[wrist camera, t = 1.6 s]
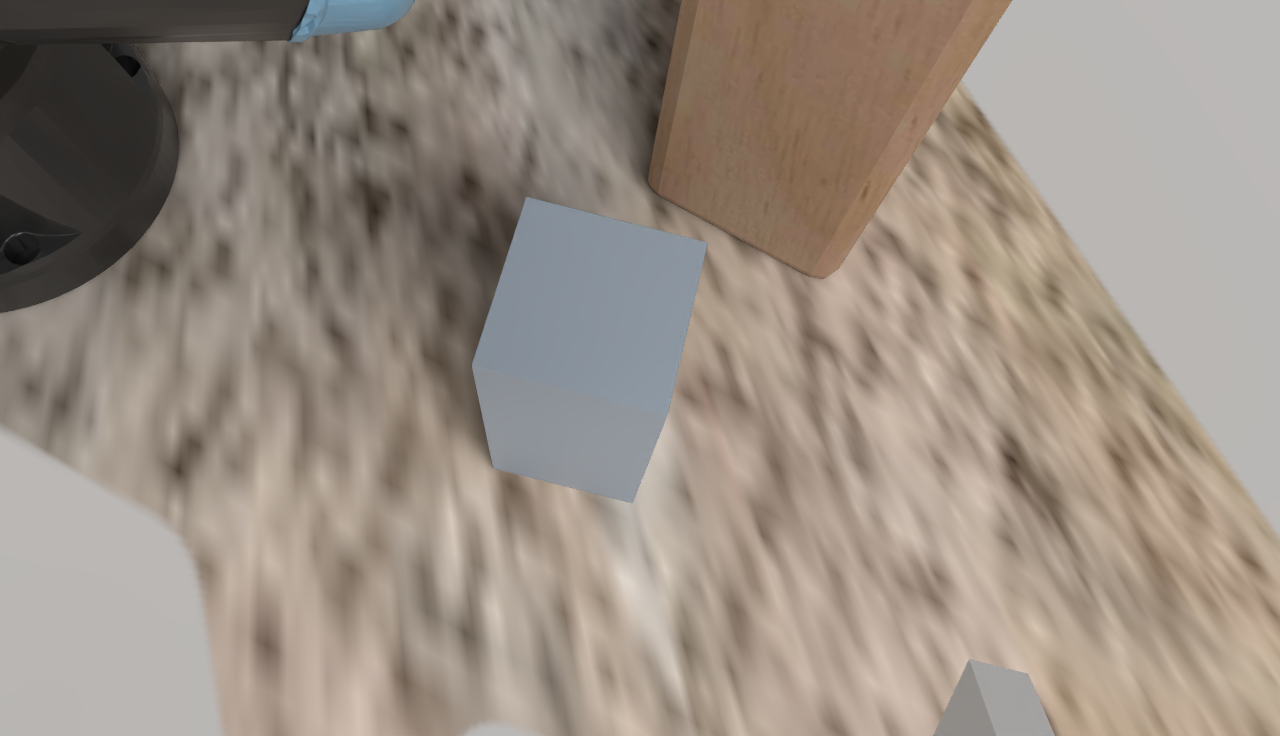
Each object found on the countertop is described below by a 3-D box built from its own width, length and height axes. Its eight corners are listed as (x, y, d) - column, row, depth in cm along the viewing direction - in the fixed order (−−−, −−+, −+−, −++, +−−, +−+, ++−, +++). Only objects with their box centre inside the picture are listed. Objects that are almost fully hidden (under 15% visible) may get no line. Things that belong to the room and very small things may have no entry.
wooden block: (823, 294, 43) (1036, -33, 24) (637, 193, 44) (704, -195, 25) (906, 142, 47) (1146, -245, 28) (732, 52, 48) (853, -379, 29)
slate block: (493, 468, 39) (471, 365, 27) (531, 340, 41) (526, 196, 30) (632, 503, 39) (667, 414, 27) (663, 373, 41) (707, 242, 30)
